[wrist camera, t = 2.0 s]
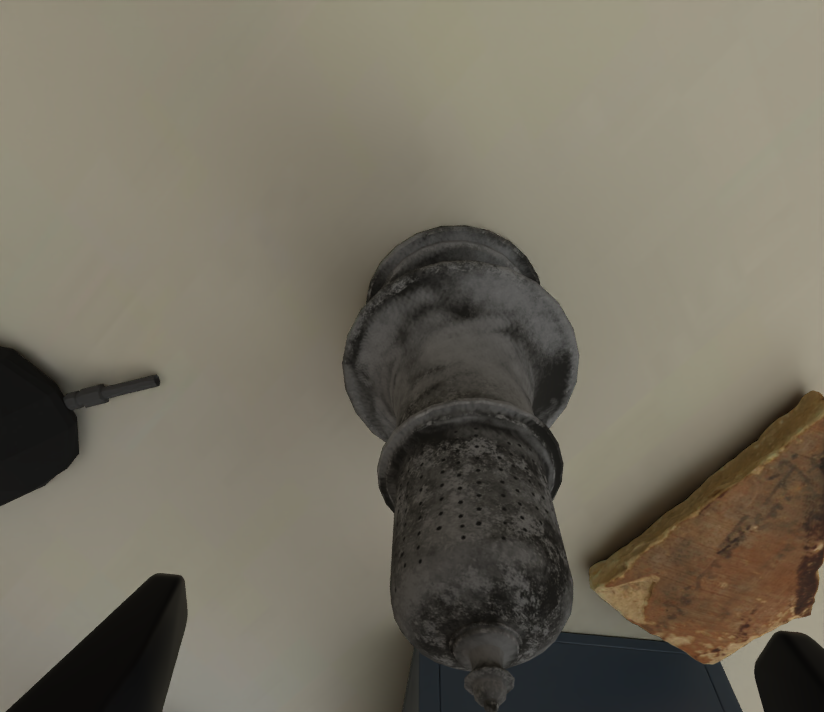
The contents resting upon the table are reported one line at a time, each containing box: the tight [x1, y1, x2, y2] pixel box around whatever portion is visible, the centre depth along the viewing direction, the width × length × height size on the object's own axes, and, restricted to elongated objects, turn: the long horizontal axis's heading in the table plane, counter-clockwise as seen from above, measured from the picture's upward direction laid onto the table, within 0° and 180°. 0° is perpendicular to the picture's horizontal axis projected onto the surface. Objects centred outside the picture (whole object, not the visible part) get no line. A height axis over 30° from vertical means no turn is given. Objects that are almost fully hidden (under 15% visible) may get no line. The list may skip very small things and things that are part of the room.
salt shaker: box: [342, 225, 579, 712], centre depth 13 cm, size 6×6×12 cm
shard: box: [589, 391, 824, 664], centre depth 22 cm, size 11×8×2 cm
